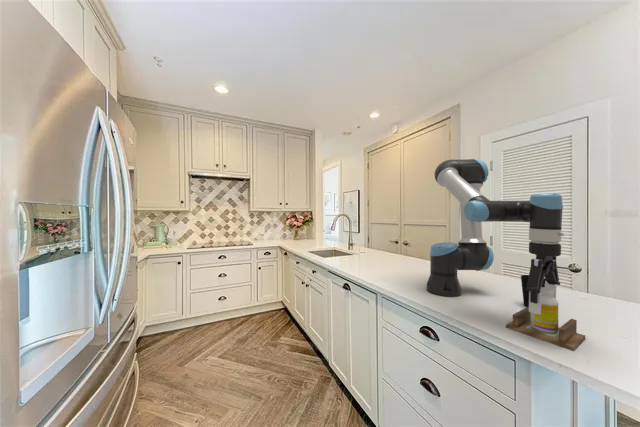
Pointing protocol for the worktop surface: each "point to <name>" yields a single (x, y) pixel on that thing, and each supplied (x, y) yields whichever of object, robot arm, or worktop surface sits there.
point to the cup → (526, 293)
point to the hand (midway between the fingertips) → (542, 308)
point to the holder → (562, 337)
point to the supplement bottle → (546, 313)
